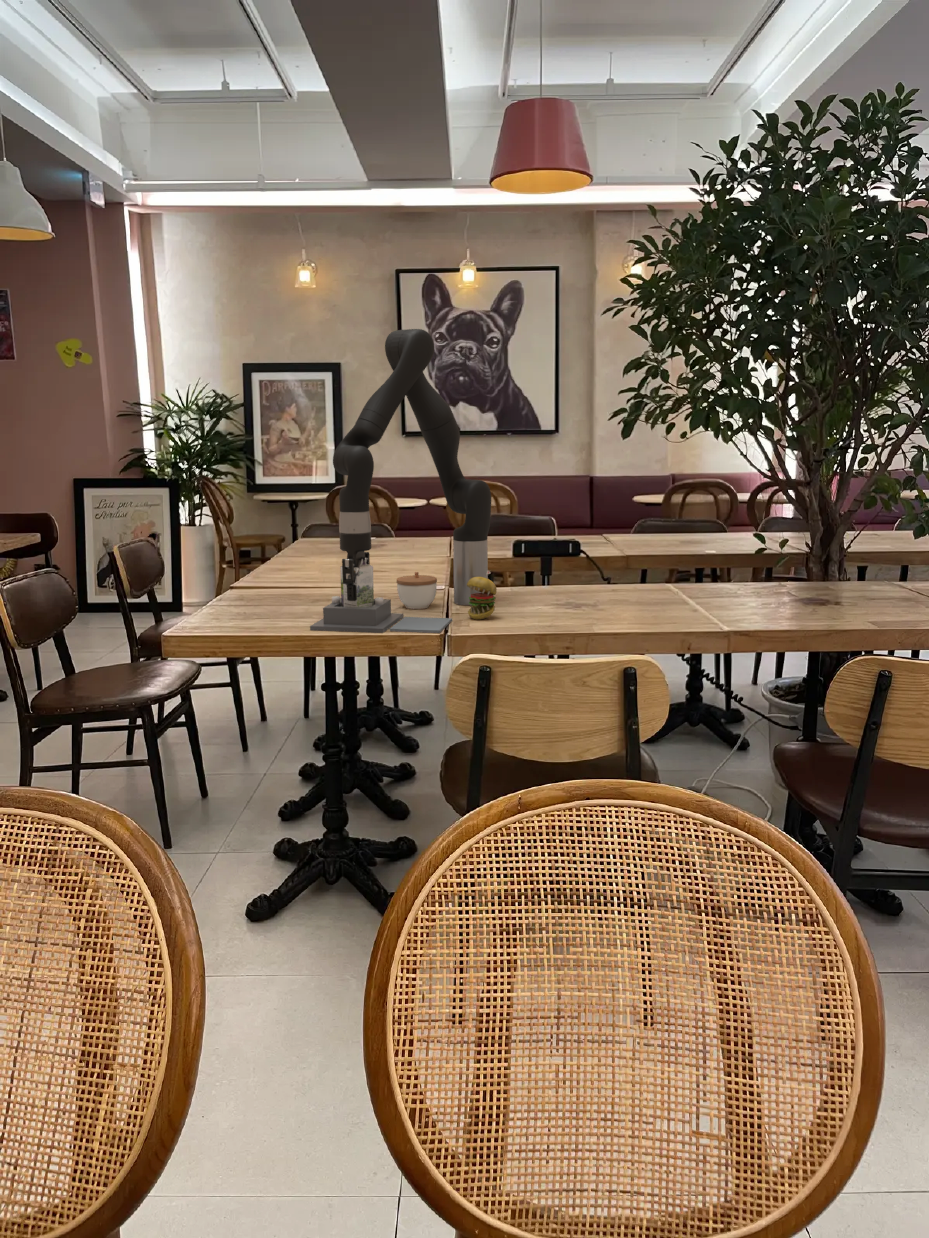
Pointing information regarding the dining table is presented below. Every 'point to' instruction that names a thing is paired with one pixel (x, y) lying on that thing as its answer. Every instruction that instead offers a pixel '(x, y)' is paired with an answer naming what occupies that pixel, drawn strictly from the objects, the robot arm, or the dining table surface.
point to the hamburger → (481, 597)
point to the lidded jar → (416, 590)
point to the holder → (357, 617)
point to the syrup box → (360, 588)
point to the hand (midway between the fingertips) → (357, 597)
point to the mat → (421, 624)
